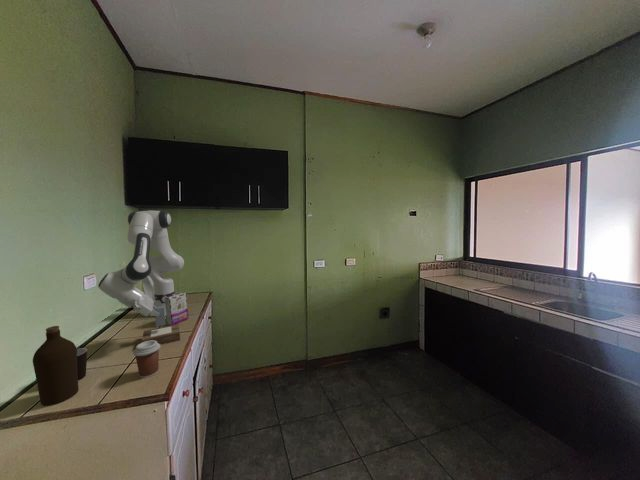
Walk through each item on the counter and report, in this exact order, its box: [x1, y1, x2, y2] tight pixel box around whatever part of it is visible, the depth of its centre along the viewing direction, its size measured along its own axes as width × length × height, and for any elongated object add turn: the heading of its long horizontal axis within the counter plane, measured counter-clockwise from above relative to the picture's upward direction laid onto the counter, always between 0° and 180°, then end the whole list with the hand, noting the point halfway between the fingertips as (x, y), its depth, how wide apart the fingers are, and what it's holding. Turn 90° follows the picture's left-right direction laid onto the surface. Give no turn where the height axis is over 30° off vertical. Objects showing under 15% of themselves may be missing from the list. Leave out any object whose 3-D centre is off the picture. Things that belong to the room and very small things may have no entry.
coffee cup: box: [132, 340, 161, 379], centre depth 102 cm, size 9×9×12 cm
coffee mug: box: [77, 347, 88, 381], centre depth 100 cm, size 12×9×10 cm
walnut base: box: [141, 323, 181, 346], centre depth 132 cm, size 14×16×4 cm
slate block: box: [154, 306, 166, 328], centre depth 131 cm, size 4×4×9 cm
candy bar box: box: [165, 292, 189, 326], centre depth 156 cm, size 11×5×16 cm, turn 155°
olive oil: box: [32, 325, 80, 407], centre depth 89 cm, size 11×11×25 cm
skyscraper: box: [141, 276, 155, 301], centre depth 183 cm, size 8×8×28 cm
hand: (159, 313), depth 131 cm, fingers closed on slate block, 4 cm apart
